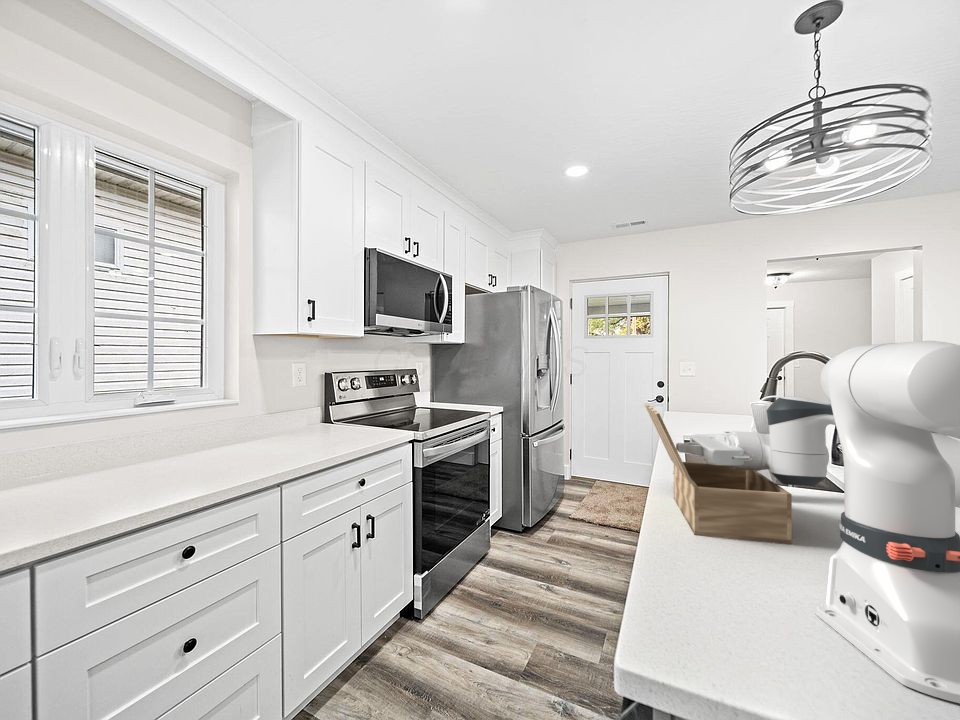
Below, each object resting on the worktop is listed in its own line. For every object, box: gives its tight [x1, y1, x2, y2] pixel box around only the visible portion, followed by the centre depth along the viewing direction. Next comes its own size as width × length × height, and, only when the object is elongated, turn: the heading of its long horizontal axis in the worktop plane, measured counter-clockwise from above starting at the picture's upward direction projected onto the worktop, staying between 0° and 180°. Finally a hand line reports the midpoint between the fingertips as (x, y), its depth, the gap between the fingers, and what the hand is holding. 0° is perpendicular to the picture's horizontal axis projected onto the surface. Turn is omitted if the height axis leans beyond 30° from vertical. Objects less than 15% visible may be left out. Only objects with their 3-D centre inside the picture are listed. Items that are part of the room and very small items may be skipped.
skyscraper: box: [749, 395, 783, 484], centre depth 119 cm, size 8×8×28 cm
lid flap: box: [644, 403, 692, 484], centre depth 106 cm, size 25×16×1 cm
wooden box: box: [673, 461, 793, 545], centre depth 103 cm, size 26×18×10 cm
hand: (677, 447), depth 106 cm, fingers closed
